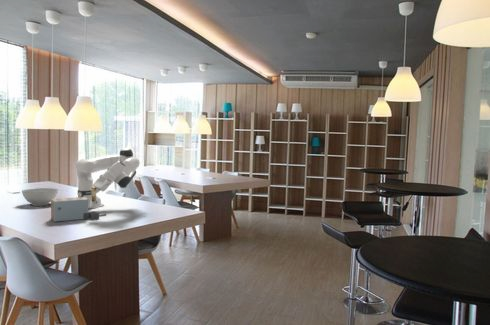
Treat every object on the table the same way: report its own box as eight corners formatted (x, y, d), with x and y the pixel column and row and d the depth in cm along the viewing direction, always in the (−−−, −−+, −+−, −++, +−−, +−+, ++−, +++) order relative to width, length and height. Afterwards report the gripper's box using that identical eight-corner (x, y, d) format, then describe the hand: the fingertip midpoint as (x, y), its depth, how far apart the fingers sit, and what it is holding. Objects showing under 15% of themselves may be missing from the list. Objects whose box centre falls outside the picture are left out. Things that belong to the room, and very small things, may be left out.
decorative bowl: (54, 201, 342) (54, 187, 341) (61, 205, 321) (61, 191, 320) (19, 203, 325) (19, 189, 324) (24, 208, 304) (24, 193, 303)
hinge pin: (93, 200, 276) (93, 186, 275) (97, 201, 274) (97, 187, 274) (90, 201, 273) (90, 187, 272) (93, 201, 271) (93, 187, 271)
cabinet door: (87, 218, 272) (87, 198, 272) (88, 218, 270) (88, 199, 269) (53, 221, 260) (53, 201, 259) (54, 221, 258) (54, 201, 257)
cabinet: (84, 216, 281) (84, 196, 280) (88, 218, 273) (88, 198, 272) (51, 219, 268) (51, 199, 267) (53, 221, 260) (53, 201, 259)
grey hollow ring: (97, 216, 279) (97, 210, 279) (100, 218, 273) (100, 212, 273) (82, 218, 273) (82, 212, 272) (84, 220, 267) (84, 213, 267)
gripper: (114, 183, 271) (100, 198, 266) (106, 180, 288) (92, 194, 282) (108, 177, 268) (93, 192, 263) (99, 174, 285) (85, 188, 279)
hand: (92, 193), depth 273 cm, fingers closed on hinge pin, 3 cm apart
